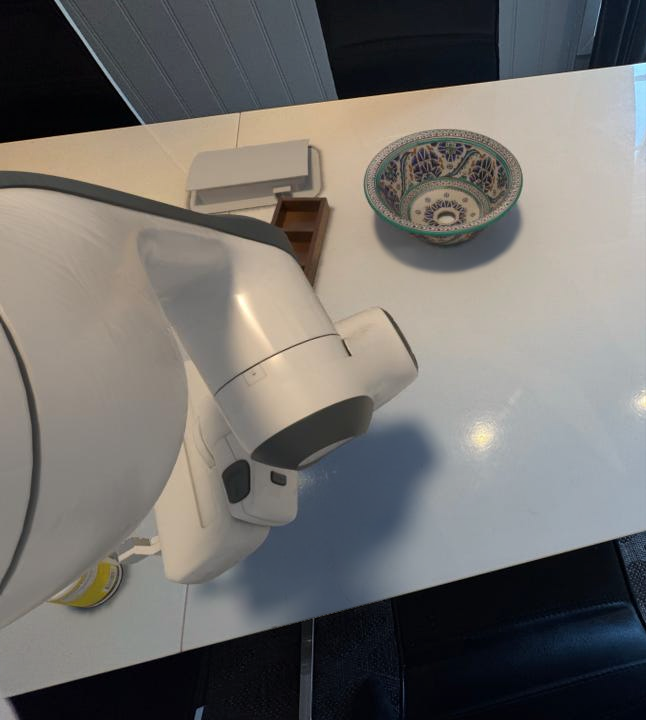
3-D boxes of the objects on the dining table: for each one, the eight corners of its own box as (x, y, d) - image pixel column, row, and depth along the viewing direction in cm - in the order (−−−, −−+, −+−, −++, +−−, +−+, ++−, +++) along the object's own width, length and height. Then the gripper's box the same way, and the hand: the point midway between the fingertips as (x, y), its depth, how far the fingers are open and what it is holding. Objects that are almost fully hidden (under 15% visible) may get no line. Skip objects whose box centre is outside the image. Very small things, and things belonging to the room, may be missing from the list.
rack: (227, 401, 69) (218, 391, 67) (284, 209, 89) (278, 197, 87) (287, 401, 69) (280, 391, 67) (330, 209, 89) (326, 197, 87)
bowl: (409, 163, 96) (402, 116, 88) (536, 192, 91) (541, 145, 83) (348, 255, 83) (334, 210, 75) (492, 294, 79) (493, 251, 71)
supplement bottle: (64, 580, 57) (-6, 564, 49) (112, 546, 59) (52, 526, 51) (82, 619, 55) (11, 610, 47) (131, 583, 57) (71, 568, 49)
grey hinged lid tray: (321, 198, 91) (315, 179, 87) (188, 216, 88) (176, 198, 85) (318, 145, 99) (312, 127, 95) (195, 161, 96) (185, 142, 93)
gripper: (202, 327, 47) (75, 402, 47) (255, 527, 38) (96, 621, 38) (246, 354, 53) (132, 421, 53) (301, 535, 43) (163, 616, 43)
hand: (117, 506), depth 45 cm, fingers open, 8 cm apart
